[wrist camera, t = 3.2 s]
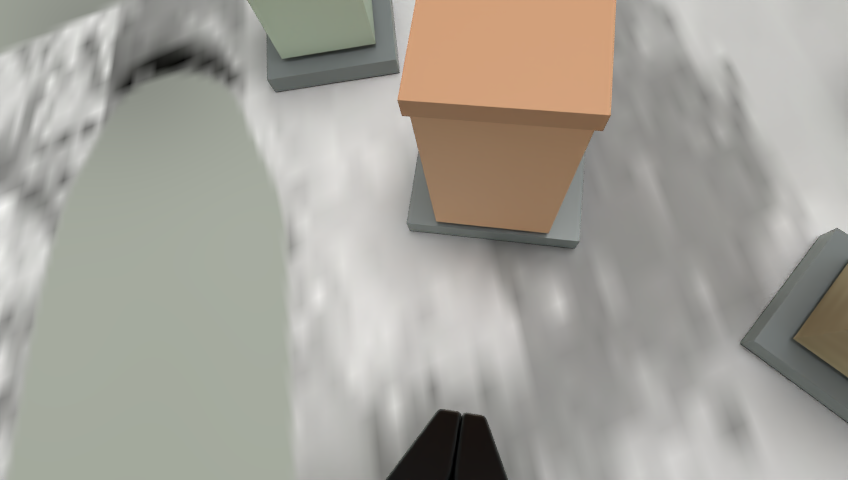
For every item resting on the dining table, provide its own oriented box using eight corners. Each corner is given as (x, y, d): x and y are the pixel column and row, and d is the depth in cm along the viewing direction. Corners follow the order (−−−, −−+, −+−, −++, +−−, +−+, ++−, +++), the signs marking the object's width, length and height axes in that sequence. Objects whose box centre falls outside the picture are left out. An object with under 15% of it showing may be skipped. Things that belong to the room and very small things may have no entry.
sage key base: (399, 72, 24) (396, 59, 23) (275, 91, 25) (267, 79, 24) (389, -20, 26) (386, -35, 25) (273, 0, 26) (265, -15, 25)
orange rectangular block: (552, 237, 20) (610, 115, 11) (432, 224, 20) (397, 99, 12) (559, 139, 21) (618, -41, 12) (446, 130, 21) (424, -47, 13)
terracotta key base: (574, 248, 21) (579, 241, 20) (409, 230, 22) (406, 222, 21) (586, 63, 23) (591, 49, 22) (438, 55, 24) (436, 41, 23)
